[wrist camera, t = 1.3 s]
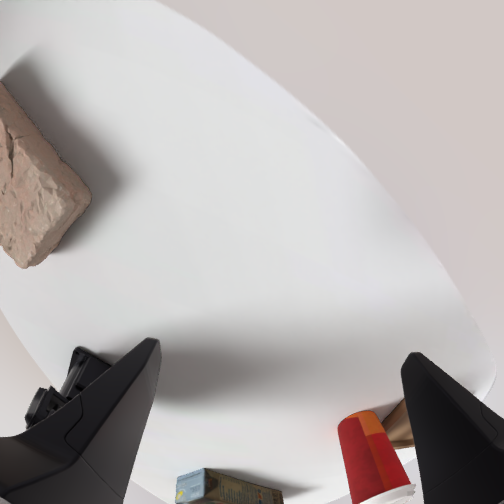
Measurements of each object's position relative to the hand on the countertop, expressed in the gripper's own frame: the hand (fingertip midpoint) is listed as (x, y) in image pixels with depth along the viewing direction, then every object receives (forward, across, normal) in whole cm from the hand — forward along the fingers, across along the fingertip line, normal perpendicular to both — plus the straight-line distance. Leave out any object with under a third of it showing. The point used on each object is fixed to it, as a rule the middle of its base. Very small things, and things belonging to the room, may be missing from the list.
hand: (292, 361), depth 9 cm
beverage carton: (+11, 0, +48) cm, 49 cm away
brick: (+13, +22, -4) cm, 26 cm away
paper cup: (+13, -15, +26) cm, 33 cm away
